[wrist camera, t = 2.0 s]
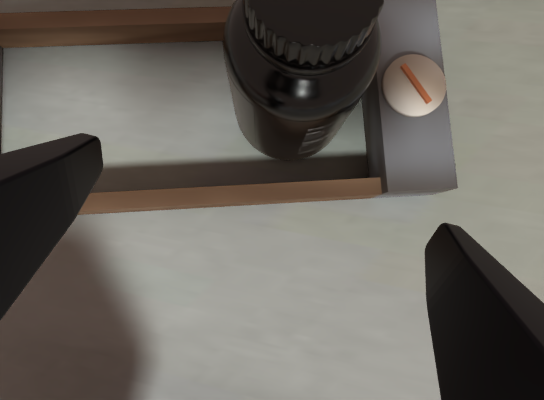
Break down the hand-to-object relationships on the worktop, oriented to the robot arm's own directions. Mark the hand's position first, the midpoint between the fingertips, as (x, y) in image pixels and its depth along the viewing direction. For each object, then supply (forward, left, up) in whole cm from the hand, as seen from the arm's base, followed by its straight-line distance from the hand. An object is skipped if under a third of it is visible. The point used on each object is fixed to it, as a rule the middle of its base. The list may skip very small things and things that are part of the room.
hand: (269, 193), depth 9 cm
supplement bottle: (+7, -2, -14) cm, 15 cm away
